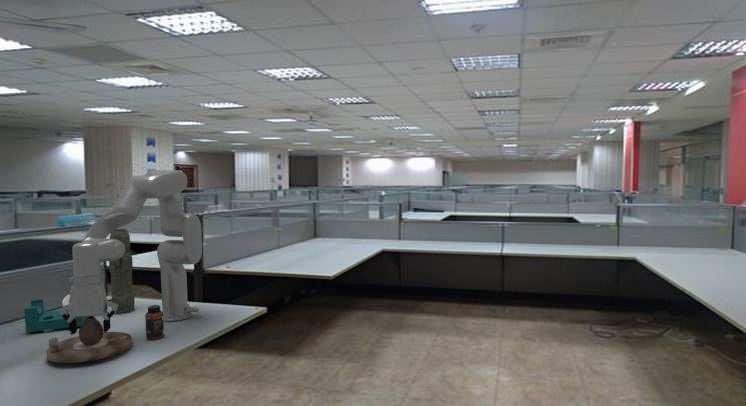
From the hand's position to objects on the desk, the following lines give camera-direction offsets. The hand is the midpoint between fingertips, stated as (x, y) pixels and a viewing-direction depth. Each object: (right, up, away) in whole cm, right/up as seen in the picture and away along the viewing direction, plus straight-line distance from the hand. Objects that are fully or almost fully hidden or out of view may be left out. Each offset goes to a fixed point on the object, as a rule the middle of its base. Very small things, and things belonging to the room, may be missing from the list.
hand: (90, 332), depth 155 cm
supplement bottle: (+15, -6, +14) cm, 21 cm away
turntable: (0, -5, 0) cm, 5 cm away
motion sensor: (-36, -5, +49) cm, 61 cm away
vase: (0, -4, 0) cm, 4 cm away
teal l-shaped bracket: (-29, -6, +28) cm, 41 cm away
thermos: (-15, -4, +48) cm, 51 cm away
